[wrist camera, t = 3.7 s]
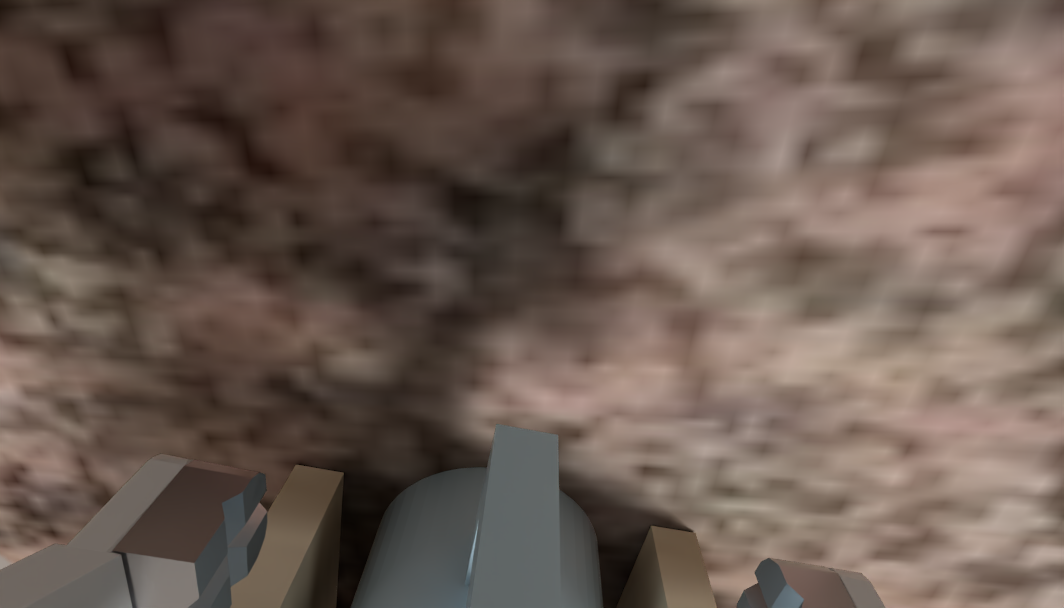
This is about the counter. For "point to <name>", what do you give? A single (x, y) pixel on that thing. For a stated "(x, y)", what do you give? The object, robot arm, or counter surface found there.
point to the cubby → (314, 543)
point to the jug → (486, 537)
